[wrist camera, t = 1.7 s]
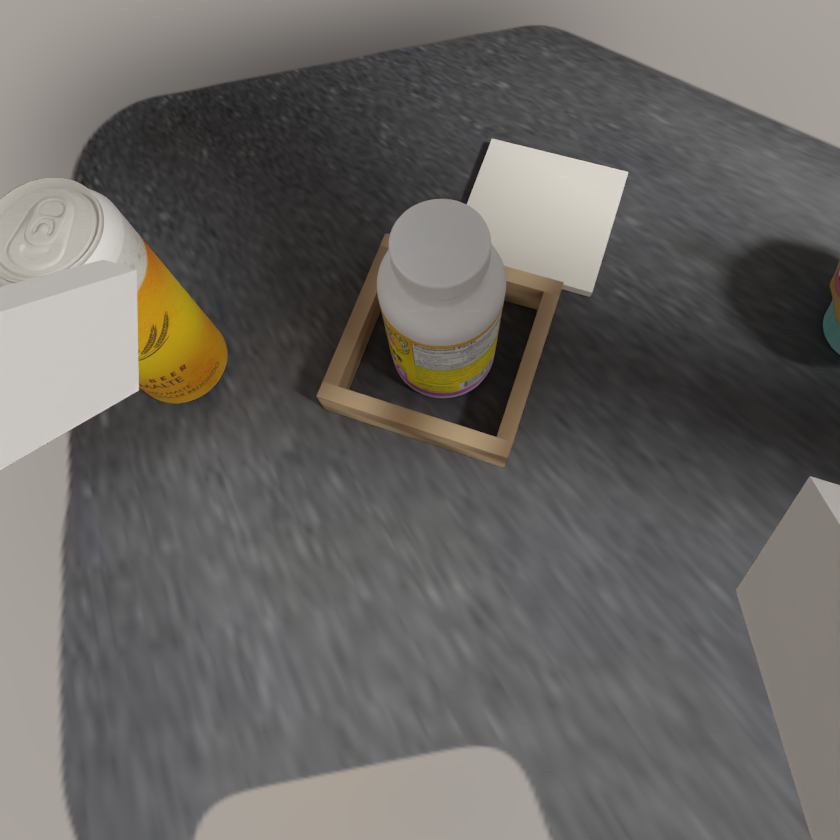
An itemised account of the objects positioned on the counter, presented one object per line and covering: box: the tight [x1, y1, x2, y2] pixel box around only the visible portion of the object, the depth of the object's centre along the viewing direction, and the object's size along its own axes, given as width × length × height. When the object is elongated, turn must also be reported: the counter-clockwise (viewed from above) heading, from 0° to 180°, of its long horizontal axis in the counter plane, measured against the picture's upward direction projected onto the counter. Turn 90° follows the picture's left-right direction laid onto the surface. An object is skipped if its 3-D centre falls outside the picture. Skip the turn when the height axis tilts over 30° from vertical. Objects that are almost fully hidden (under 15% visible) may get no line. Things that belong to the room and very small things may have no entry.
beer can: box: [0, 177, 228, 403], centre depth 33 cm, size 6×6×15 cm
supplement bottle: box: [377, 199, 506, 398], centre depth 33 cm, size 7×7×13 cm
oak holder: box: [317, 233, 564, 468], centre depth 38 cm, size 12×12×2 cm
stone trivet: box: [467, 139, 628, 297], centre depth 42 cm, size 10×10×1 cm
